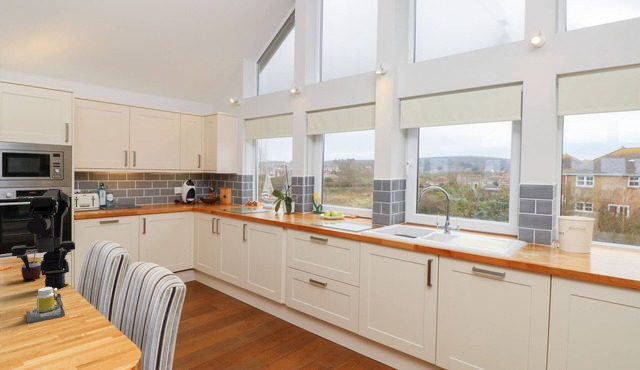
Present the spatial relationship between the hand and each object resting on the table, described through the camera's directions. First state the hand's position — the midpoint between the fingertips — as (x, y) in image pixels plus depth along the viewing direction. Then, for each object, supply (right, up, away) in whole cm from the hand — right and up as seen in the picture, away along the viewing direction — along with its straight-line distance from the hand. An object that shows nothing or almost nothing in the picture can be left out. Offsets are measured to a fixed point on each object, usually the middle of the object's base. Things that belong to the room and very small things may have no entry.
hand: (44, 270), depth 135 cm
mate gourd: (-27, -11, +27) cm, 39 cm away
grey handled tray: (+4, -12, -6) cm, 14 cm away
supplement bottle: (+10, -12, -12) cm, 19 cm away
